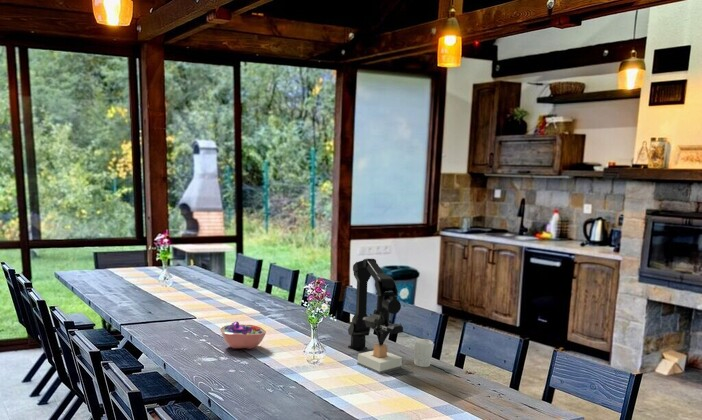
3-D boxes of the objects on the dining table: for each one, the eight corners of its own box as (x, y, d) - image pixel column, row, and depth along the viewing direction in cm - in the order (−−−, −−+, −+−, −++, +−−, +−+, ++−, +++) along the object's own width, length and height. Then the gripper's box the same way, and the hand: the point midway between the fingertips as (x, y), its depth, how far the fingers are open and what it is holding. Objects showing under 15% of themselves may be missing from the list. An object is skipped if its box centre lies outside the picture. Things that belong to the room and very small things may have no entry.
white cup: (417, 367, 229) (418, 344, 229) (410, 361, 237) (411, 338, 236) (434, 367, 231) (436, 344, 231) (426, 361, 239) (428, 338, 238)
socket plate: (357, 364, 228) (358, 352, 228) (379, 359, 237) (379, 347, 237) (379, 374, 219) (380, 361, 218) (401, 368, 227) (402, 356, 227)
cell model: (256, 356, 229) (258, 330, 229) (212, 350, 233) (213, 324, 233) (270, 345, 246) (271, 320, 245) (228, 339, 250) (230, 315, 249)
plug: (372, 363, 227) (373, 344, 227) (380, 361, 230) (381, 343, 230) (378, 366, 225) (379, 347, 224) (386, 364, 228) (387, 345, 227)
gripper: (353, 305, 228) (351, 341, 229) (386, 315, 214) (383, 354, 215) (372, 302, 235) (370, 338, 236) (405, 312, 222) (402, 349, 223)
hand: (380, 344), depth 227 cm, fingers closed
